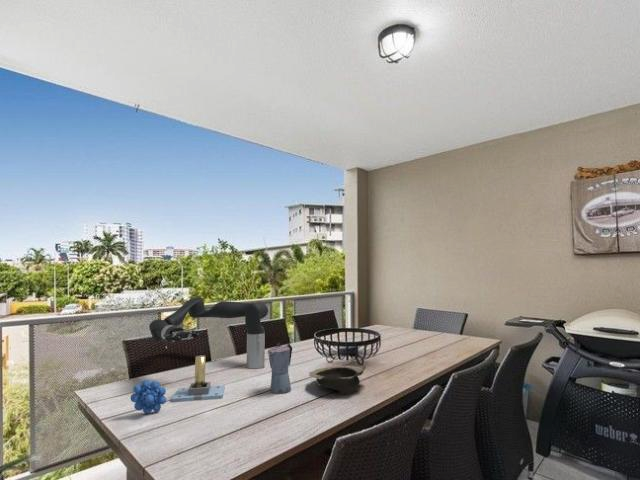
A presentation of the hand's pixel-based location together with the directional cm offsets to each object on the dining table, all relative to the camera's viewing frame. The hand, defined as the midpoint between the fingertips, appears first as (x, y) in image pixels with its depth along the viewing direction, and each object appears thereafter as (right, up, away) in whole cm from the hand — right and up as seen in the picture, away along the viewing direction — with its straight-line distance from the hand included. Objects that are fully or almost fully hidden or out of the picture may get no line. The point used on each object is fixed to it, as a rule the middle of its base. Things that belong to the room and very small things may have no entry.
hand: (188, 337), depth 152 cm
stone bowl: (+64, -22, 0) cm, 68 cm away
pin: (+8, -20, -8) cm, 23 cm away
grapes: (-4, -20, -28) cm, 34 cm away
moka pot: (+40, -21, -3) cm, 46 cm away
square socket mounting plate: (+8, -21, -8) cm, 24 cm away
